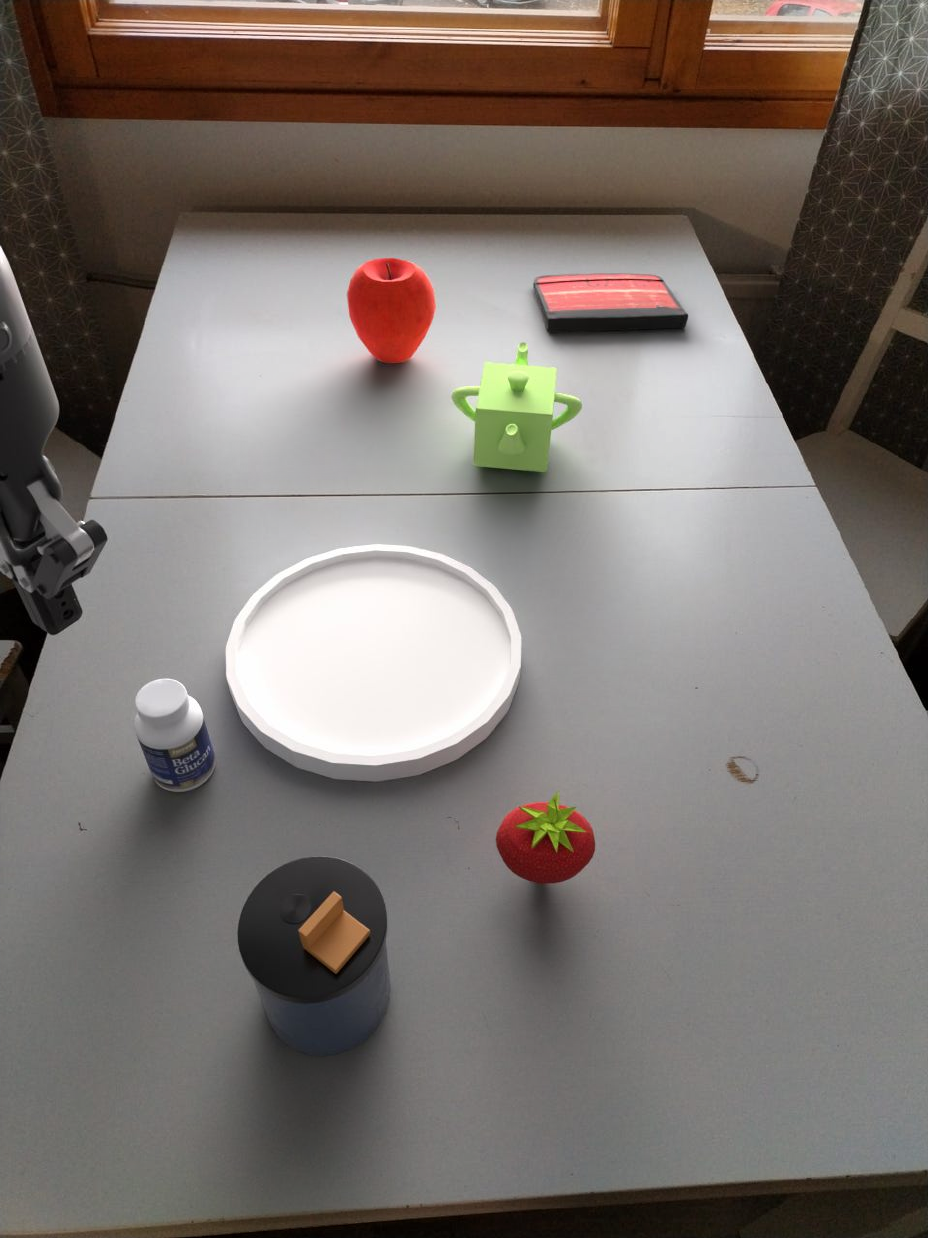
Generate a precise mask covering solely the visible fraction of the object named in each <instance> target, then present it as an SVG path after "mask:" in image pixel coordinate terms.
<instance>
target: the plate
mask: <svg viewBox="0 0 928 1238" xmlns="http://www.w3.org/2000/svg"><path fill="white" fill-rule="evenodd" d="M520 631H521V630H520V628H519V625H518V622H517V619H516V616H515V614H514V610H513V608H512V607H511V606H510V604H509V603H508V601H507V600H506V599H505V597H504V596H503V595H502V593H500V590H498V588H497V586H495V585H494V584H493V583H491V582H490V581H489V580H487V579H486V578H485V577H484V576H482V575H481V574H480V573H478V572H477V571H476V570H475V569H474V568H472V567H471V566H469V565H467V564H464V563H462V562H460V561H458V560H456V559H453V558H451V557H450V556H447V555H445V554H443V553H439V552H435V551H432V550H427V549H424V548H419V547H414V546H410V545H400V544H399V545H398V544H397V545H396V544H382V543H381V544H379V543H371V544H365V545H355V546H348V547H340V548H336V549H332V550H329V551H325V552H323V553H319V554H316V555H313V556H309V557H307V558H304V559H302V560H301V561H299V562H297V563H295V564H293V565H291V566H290V567H288V568H286V569H284V570H282V571H280V572H278V573H277V574H275V575H274V576H273V577H271V578H270V579H269V580H268V581H267V582H266V583H264V584H263V585H262V586H261V587H260V588H258V589H257V590H256V591H255V592H254V593H252V594H251V596H250V598H249V599H248V601H247V602H246V603H245V604H244V606H243V607H242V609H241V610H240V612H239V613H238V614H237V616H235V619H234V621H233V623H232V627H231V631H230V633H229V636H228V639H227V642H226V645H225V677H226V678H225V679H226V681H227V685H228V689H229V692H230V695H231V698H232V700H233V703H234V706H235V708H236V711H237V713H238V715H239V718H240V720H241V723H242V724H243V725H244V726H245V727H246V728H247V730H248V731H249V732H250V733H251V734H252V735H253V736H254V737H255V739H256V740H257V741H258V742H259V743H260V744H261V746H262V747H263V748H264V749H266V750H267V751H269V752H271V753H272V754H274V755H275V756H276V757H279V758H280V759H282V760H283V761H285V762H287V763H289V764H290V765H291V766H293V767H295V768H297V769H300V770H304V771H307V772H310V773H314V774H317V775H321V776H324V777H326V778H330V779H333V780H343V781H344V780H345V781H362V782H376V783H377V782H378V783H379V782H385V781H389V780H391V781H392V780H396V779H397V780H398V779H402V778H403V779H404V778H408V777H414V776H415V777H416V776H420V775H422V774H425V773H428V772H430V771H433V770H434V769H438V768H440V767H443V766H445V765H447V764H450V763H452V762H454V761H457V760H458V759H460V758H461V757H463V756H464V755H465V754H467V753H468V752H470V751H471V750H472V749H473V748H476V747H477V746H478V745H479V744H481V743H482V742H483V741H485V740H486V739H487V738H489V736H490V735H491V733H492V732H493V731H494V730H495V728H496V727H497V726H498V725H499V723H500V722H501V721H502V720H503V719H504V717H506V715H507V713H508V712H509V711H510V707H511V705H512V703H513V700H514V697H515V694H516V692H517V690H518V687H519V684H520V678H521V668H522V634H521V632H520Z"/></svg>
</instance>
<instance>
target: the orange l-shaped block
mask: <svg viewBox="0 0 928 1238" xmlns="http://www.w3.org/2000/svg"><path fill="white" fill-rule="evenodd" d="M298 932H299V936H300V940H301V943H302V945H303V948H304V949H305V950H307V951H308V952H309V953H310V954H312V955H313V956H314V957H315V958H316V959H318V960H319V961H320V962H321V963H323V964H324V965H325V966H326V967H328V968H329V969H330V970H331V971H333V972H334V973H335V974H337V973H338V972H339V970H340V969H341V968H342V967H343V966H344V965H345V963H346V962H347V961H348V960H349V959H350V958H351V956H352V955H353V954H354V953H355V952H356V950H357V949H358V948H359V947H360V946H361V945H362V943H363V942H364V941H365V940H366V939H367V938H368V936H369V935H370V930H369V929H367V928H366V927H365V926H364V925H362V924H361V923H360V922H358V921H357V920H356V919H354V918H353V917H352V916H351V915H349V914H348V913H347V912H345V911H344V907H343V901H342V897H341V896H340V895H338V894H337V893H336V892H333V893H332V894H331V895H330V896H329V897H328V898H327V899H326V900H325V901H324V903H323V904H322V905H321V906H320V907H319V908H318V909H317V910H316V911H315V912H314V914H313V915H312V916H311V917H310V918H309V919H308V920H307V921H306V922H305V923H304V925H303V926H302V927H301V928H300V929H299V930H298Z"/></svg>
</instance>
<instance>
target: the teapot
mask: <svg viewBox="0 0 928 1238" xmlns="http://www.w3.org/2000/svg"><path fill="white" fill-rule="evenodd" d="M528 353H529V347H528V344H527V343H526V342H525V341H524V342H523V341H522V342H520V343H519V344H518V346H517V350H516V356H515V360H514V363H503V362H490V361H484V363H483V369H482V374H481V378H480V384H479V386H477V385H470V386H468V385H467V386H461V387H457V388H456V389H454V390H453V391H452V393H451V399H452V402H453V404H454V405H455V407H456V408H457V410H459V411H460V412H461V413H462V414H464V415H465V416H466V417H467V418H469V419H470V420H471V421H472V422H474V439H473V440H474V441H473V443H474V444H473V467H480V468H493V469H504V470H514V471H515V470H516V471H526V472H527V471H528V472H536V473H537V472H539V473H547V472H548V466H549V465H548V464H549V456H550V447H551V437H552V432H553V430H555V429H557V428H559V427H561V426H564V425H565V424H566V423H568V422H570V421H572V420H573V419H574V418H575V417H577V415H578V414H579V413H580V412H581V410H582V408H583V403H582V401H581V400H580V399H579V398H578V397H576V396H574V395H570V394H566V393H560V392H556V384H557V371H558V368H557V367H555V366H554V367H553V366H552V367H551V366H540V365H529V359H528ZM475 396H476V397H477V399H476V405H475V409H474V408H473V406H472V405H471V404H470V402H469V401H468V400H467V398H466V397H475ZM555 403H558V404H562V405H566V406H567V407H566V408H565V410H563V411H562V412H561V413H560V414H559V415H558V416H556V417H555V418H554V408H555Z"/></svg>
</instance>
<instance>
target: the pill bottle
mask: <svg viewBox="0 0 928 1238" xmlns="http://www.w3.org/2000/svg"><path fill="white" fill-rule="evenodd" d="M134 706H135V709H136V711H137V713H136V715H135V718H134V722H133V723H134V724H133V727H134V733H135V736H136V738H137V740H138V743H139V746H140V748H141V751H142V754H143V756H144V758H145V761H146V763H147V766H148V769H149V771H150V774H151V776H152V778H153V780H154V781H155V783H156V784H157V785H158V786H159V787H160V788H162V789H164V790H165V791H169V792H174V793H183V792H189V791H193V790H195V789H197V788H199V787H201V786H202V785H203V784H204V783H206V782H207V781H208V780H209V778H210V777H211V776H212V774H213V772H214V771H215V767H216V762H217V761H216V755H215V751H214V747H213V743H212V740H211V738H210V734H209V731H208V727H207V724H206V721H205V717H204V714H203V710H202V708H201V706H200V703H198V701H197V700H196V699H195V698H194V697H192V696H190V695H189V694H188V691H187V689H186V687H185V685H184V684H183V683H181V682H180V681H178V680H176V679H172V678H159V679H155V680H152V681H149V682H148V683H146V684H145V685H143V686H142V687H141V688H140V689H139V691H138V692H137V694H136V696H135V699H134Z"/></svg>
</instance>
